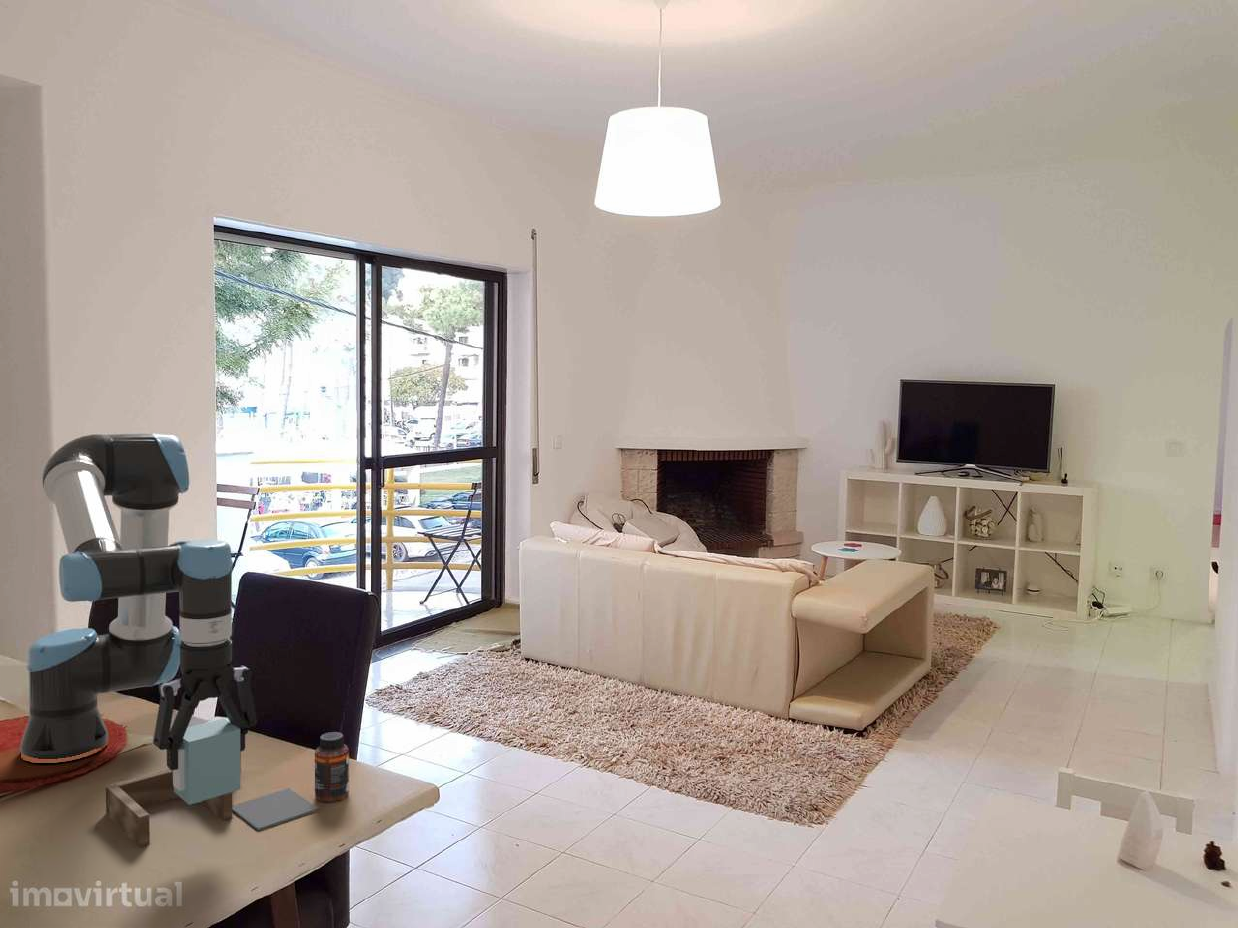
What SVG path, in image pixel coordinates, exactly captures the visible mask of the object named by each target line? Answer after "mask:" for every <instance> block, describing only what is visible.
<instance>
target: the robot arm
mask: <svg viewBox="0 0 1238 928" xmlns="http://www.w3.org/2000/svg"><path fill="white" fill-rule="evenodd" d="M42 487H43V489H44V493H45V496H46V497H47V499H48V500H49V501H50V502H51V503H53V504H54V506H55V509H56V513H57V516H58V520H59V524H60V527H61V531H62V535H63V538H64V542H65V546H66V549H67V554H64V555H62V556H61V558H60V559H59V562H58V563H59V565H58V580H59V587H60V588H59V589H60V593H61V594H60V595H61V597H62V599H63V600H64V601H66V602H69V603H70V602H71V603H72V602H73V603H75V602H90V603H91V602H92V603H93V602H96V601H103V600H111V599H118V602H117V603H118V604H117V605H118V606H117V617H116V618H114V619H113V620H112V621H111V622H110V624H109V627H108V633H107V634H98V633H97V631H96V630H95V629H93V628H90V627H82V628H72V629H71V628H69V629H67V630H62V631H58V632H55V633H51V634H47V635H45V636H43V637H40V638H39V639H37V640H36V641H34V643H32V644H31V646H30V647H29V650H28V662H27V663H28V664H27V667H26V669H27V671H28V690H29V691H28V694H29V695H28V696H29V698H28V700H29V701H28V702H29V718H28V721H27V723H26V726H25V728H24V733H23V735H22V737H21V741H20V745H19V752H20V751H21V753H22V754H24V755H26V756H29V757H33V758H38V759H58V758H66V757H72V756H76V755H80V754H83V753H86V752H89V751H91V750H94V749H98V748H101V747H103V746H104V745H105V744H106V743H107V741H108V742H109V733H108V729H107V727H106V724H105V722H104V719H103V716H102V715H101V712H100V710H99V707H98V695H101V694H106V693H113V692H119V691H124V690H125V691H126V690H130V689H137V688H144V687H148V688H150V687H153V686H155V685H158V691H159V695H160V696H159V697H160V699H159V705H158V711H157V715H156V716H157V718H156V722H155V723H156V724H155V729H154V735H153V740H152V743H153V745H154V746H155V747H156V748H158V749H159V750H161V751H164V750H166V766H167V769H170V770H173V786H174V787H175V788H177V789H178V790H179V791H183V790H185V756H184V749H183V748H182V747H181V746H180V744H181V742H182V739H183V737H184V735H185V732H186V730H187V727H189V725H190V721H191V720H192V717H193V715H194V712H195V710H196V709H197V708H198V706H199V704H200V702H202V701H206V700H208V699H209V698H210V699H214V698H215V699H216V698H217V699H218V701H219V703H220V706H221V707H222V708H223V711H224V713H225V715H226V718H228V719H229V721H230V723H232V724H233V725H235V726H236V727H238V728H239V729H240V752H241V753H242V752H244V751H245V749H246V735H247V734H248V733H249V729H250V728H251V727H252V728H253V727H256V726H257V724H258V719H257V713H256V709H255V702H254V697H253V693H252V691H253V690H252V687H251V686H252V685H251V679H252V674H253V671H252V670H251V669H250V668H248V667H246V666H245V665H240V666H239V667H234V666H233V664H232V661H233V640H232V639H231V637H232V635H233V614H232V613H233V611H232V606H233V605H232V603H233V599H232V597H233V592H232V590H233V589H232V588H233V584H232V583H233V581H232V580H233V579H232V577H233V566H234V561H233V560H232V559H233V558H232V547H231V545H230V543H228V542H226V541H223V540H217V539H198V540H191V541H190V540H179V541H175V542H173V543H171V544H170V545H169V531H170V530H169V529H170V527H169V526H170V511H171V509H173V508H174V507H176V506H177V505H178V503H179V494H184V493H186V492H188V491H189V487H190V472H189V466H188V460H187V455H186V452H185V449H184V446H183V444H182V442H181V440H180V439H179V438H178V437H177V436H176V435H174V434H165V433H164V434H163V433H161V434H159V433H154V432H152V433H127V434H126V433H125V434H124V433H121V434H89V435H84V436H83V435H82V436H80V437H77V438H75V439H73V440H70V441H69V442H66V443H65V444H64V445H62V446H61V447H60V448H59V449H57V450H56V451H55V452H54V453H53V454H52V455H51V456H50V458H49V459H48V460H47V463H46V464H45V466H44V469H43V473H42ZM105 496H108V497H109V496H111V497H112V498H111V499H112V500H111V501H112V504H113V505H114V506H115V507H116V508H118V509H119V510H120V528H119V529H120V530H119V531H120V534H119V535H118V532H117V531H118V530H117V529H116V528H117V527H116V525H115V523H114V520H113V518H112V515H111V511H110V508H109V506H108V503H107V501H106V497H105ZM175 592H176V593H177V592H178V593H179V598H178V599H179V629H178V627H177V626H175V625H173V621H172V619H171V618H170V617H168V616H167V615H166V602H167V600H166V599H167V598H166V597H167V593H175ZM179 669H180V670H179ZM178 670H179V673H178V676H177V679H175V680H173V679H174V678H175V676H176V675H177V672H178ZM232 679H234V680H235V681H236V687H237V693H238V698H239V704H240V710H241V715H242V717H241V715H240V712H239V710H238V708H237V706H236V704H235V702H234V700H233V698H232V695H231V692H230V691H229V688H228V685H229V684H230V682H231V681H232ZM180 688H182V690H183V691H184V692H183V695H182V697H181V703H180V706H179V707H178V711H177V714H176V715H175V718H174V720H172V719H173V713H174V708H175V702H176V700H175V696H176V697H177V695H178V690H179V689H180ZM172 721H173V722H172Z"/></svg>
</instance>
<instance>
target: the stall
mask: <svg viewBox="0 0 1238 928" xmlns="http://www.w3.org/2000/svg"><path fill="white" fill-rule="evenodd" d="M176 798H181V797H180V796H178V795H177V794H176V793H175V792H174V786H173V770H170V769H169V768H167V769H164V770H163V769H162V770H159V771H156V772H153V773H149V774H144V775H141V776H138V777H134V778H129V779H127V780H123V781H119V782H116V783H112V784H108V785H105V813H106V815H107V817H109V818H110V820H111V821H112V822H113V823H115V824H116V826H118V828H120V830H122V831H123V832H124V833H125V834H126V835H127V837H129V838H130V839H131V840H132V841H133V842H134V843H135V844H136V845H137V846H138V847H139V848H142V847H144V846H148V845H150V844H151V843H150V841H151V839H150V838H151V837H150V836H151V835H150V833H151V832H150V831H151V830H150V814H149V813H148V811H146V810H145V809H144V808H146V807H150V806H152V805H155V804H159V803H162V802H166V801H169V800H172V799H173V800H174V799H176ZM199 803H202V804H203V805H204V806H206V807H207V809H209V810H210V811H211V812H213V813H214V814H215V815H217V816H218V817H219V818H221V820H223V821H226V820H229V819H232V818H233V811H232V805H233V792H230V793H227V794H224V795H220V796H217V797H214V798H210V799H207V800H204V801H200V802H199Z"/></svg>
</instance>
